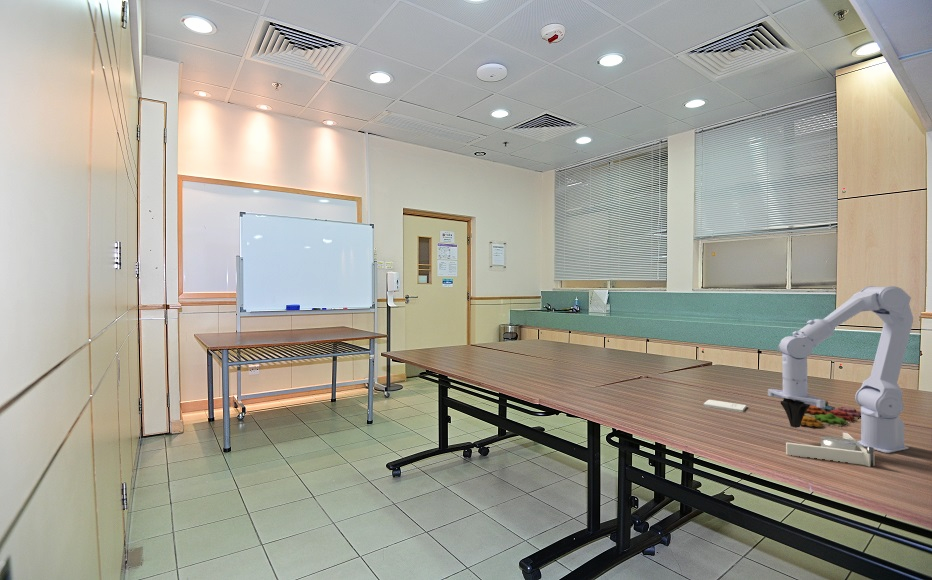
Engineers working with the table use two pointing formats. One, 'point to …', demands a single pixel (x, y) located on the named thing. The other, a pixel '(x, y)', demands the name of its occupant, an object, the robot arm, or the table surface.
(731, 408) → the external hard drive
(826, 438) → the translucent glass bowl
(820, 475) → the table surface
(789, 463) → the table surface
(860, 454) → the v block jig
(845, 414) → the gear puzzle
